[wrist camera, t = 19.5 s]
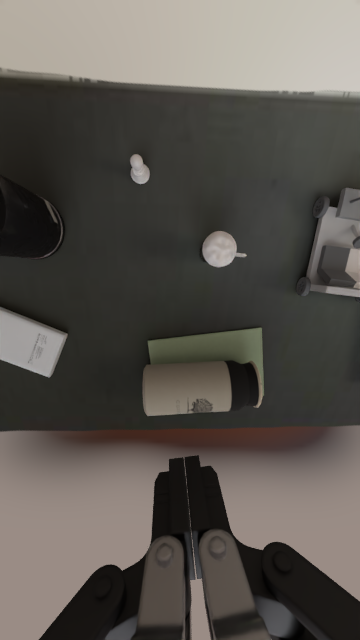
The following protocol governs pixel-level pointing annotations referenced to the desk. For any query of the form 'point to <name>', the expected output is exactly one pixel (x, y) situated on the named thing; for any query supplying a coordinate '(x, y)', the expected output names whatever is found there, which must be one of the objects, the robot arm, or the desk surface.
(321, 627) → the robot arm
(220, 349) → the mat
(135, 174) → the chess pawn
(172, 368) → the travel mug
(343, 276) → the toy car
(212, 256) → the milkshake
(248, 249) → the desk surface
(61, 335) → the hard drive
